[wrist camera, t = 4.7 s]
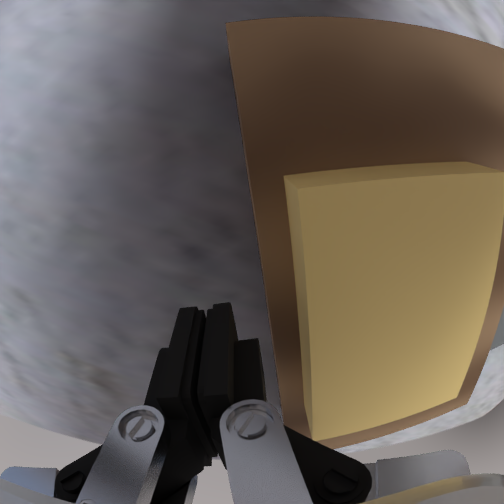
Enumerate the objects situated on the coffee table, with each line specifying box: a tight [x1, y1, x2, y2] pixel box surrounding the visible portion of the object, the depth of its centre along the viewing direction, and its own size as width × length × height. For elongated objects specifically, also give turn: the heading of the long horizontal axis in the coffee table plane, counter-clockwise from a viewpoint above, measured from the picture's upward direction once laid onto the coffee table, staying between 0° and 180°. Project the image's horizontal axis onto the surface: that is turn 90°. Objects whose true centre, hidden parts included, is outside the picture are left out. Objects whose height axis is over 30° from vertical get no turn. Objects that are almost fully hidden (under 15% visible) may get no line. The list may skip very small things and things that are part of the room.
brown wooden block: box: [226, 17, 504, 449], centre depth 13 cm, size 20×12×4 cm, turn 8°
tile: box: [284, 162, 504, 441], centre depth 10 cm, size 10×7×2 cm
